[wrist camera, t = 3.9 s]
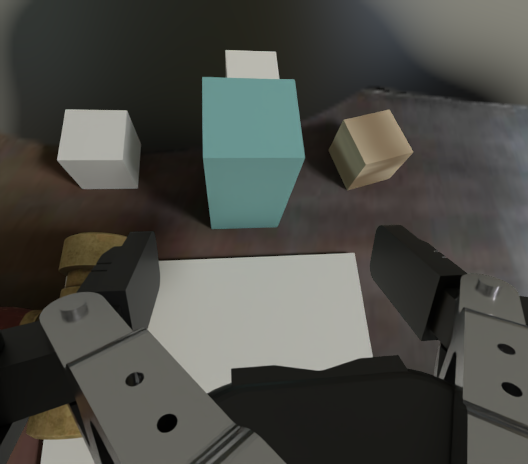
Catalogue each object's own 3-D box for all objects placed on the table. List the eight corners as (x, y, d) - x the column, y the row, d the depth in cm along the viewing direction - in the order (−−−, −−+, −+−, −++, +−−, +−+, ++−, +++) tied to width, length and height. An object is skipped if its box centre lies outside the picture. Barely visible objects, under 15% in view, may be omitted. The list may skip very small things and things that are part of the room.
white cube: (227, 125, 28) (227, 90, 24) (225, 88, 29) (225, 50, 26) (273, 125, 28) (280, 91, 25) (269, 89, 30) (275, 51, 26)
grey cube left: (82, 189, 25) (56, 160, 21) (88, 144, 26) (65, 109, 22) (138, 188, 25) (122, 160, 21) (141, 144, 26) (127, 110, 23)
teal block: (211, 229, 24) (202, 158, 16) (210, 170, 26) (202, 76, 17) (277, 226, 25) (305, 157, 16) (272, 170, 27) (294, 79, 18)
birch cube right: (346, 190, 27) (365, 164, 23) (327, 150, 28) (343, 119, 24) (388, 179, 28) (413, 152, 24) (368, 141, 29) (389, 109, 25)
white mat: (38, 520, 18) (32, 525, 17) (71, 267, 22) (67, 264, 22) (389, 474, 20) (393, 477, 19) (351, 255, 25) (354, 252, 24)
